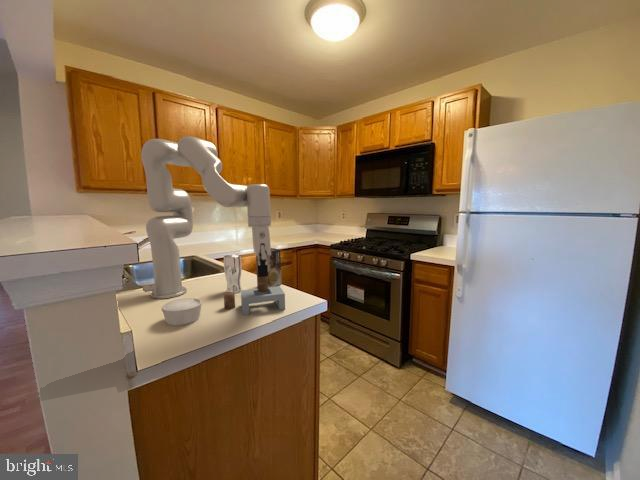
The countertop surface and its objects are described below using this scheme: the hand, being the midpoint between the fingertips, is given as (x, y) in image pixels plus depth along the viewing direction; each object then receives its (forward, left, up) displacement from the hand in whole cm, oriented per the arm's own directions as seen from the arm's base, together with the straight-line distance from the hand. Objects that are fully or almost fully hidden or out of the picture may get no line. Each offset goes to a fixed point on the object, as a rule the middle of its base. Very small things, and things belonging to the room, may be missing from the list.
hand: (262, 274), depth 93 cm
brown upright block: (-11, +4, -12) cm, 17 cm away
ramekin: (-25, -1, -12) cm, 28 cm away
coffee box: (+6, +24, -12) cm, 28 cm away
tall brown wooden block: (0, 0, -6) cm, 6 cm away
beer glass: (-9, +22, -12) cm, 27 cm away
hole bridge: (0, 0, -12) cm, 12 cm away
